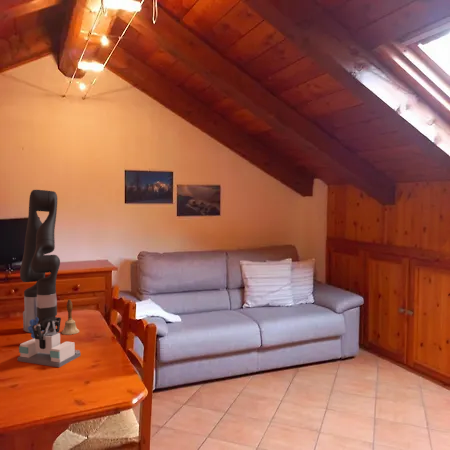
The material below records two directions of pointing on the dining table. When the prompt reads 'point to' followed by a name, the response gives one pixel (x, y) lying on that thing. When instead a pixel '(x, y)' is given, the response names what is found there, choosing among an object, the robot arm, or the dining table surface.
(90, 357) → the dining table surface
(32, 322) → the grapes
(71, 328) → the hand bell
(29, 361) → the rail board
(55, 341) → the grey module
